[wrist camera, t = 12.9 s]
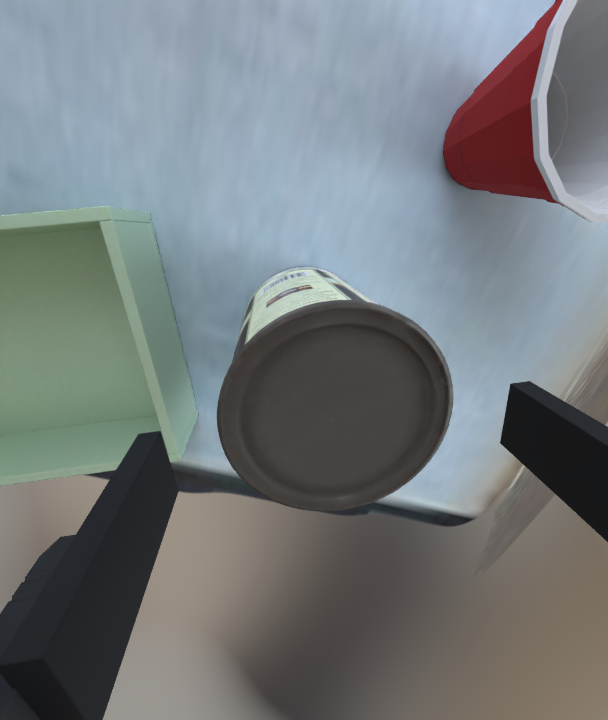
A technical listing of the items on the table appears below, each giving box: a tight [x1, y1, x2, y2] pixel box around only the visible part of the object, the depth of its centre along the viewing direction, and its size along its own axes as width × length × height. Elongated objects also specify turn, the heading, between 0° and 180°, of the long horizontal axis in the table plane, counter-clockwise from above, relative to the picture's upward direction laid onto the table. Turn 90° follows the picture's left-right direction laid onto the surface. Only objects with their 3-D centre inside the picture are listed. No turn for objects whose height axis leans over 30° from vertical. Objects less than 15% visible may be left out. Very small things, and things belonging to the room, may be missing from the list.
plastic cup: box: [443, 0, 608, 222], centre depth 18 cm, size 11×11×12 cm
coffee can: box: [217, 267, 453, 511], centre depth 20 cm, size 10×10×14 cm
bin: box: [0, 206, 199, 486], centre depth 22 cm, size 16×22×6 cm
